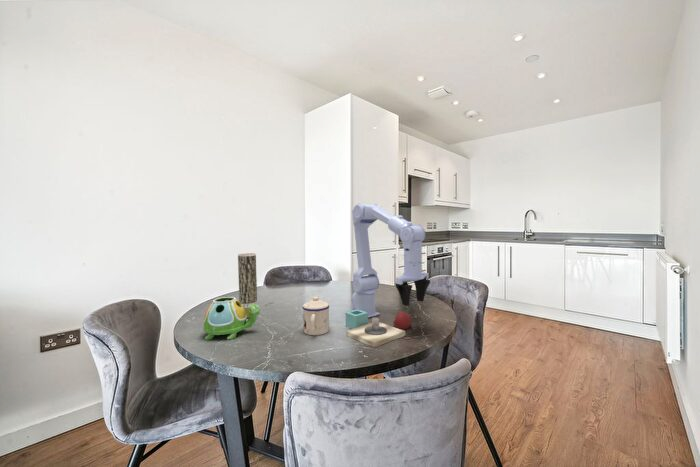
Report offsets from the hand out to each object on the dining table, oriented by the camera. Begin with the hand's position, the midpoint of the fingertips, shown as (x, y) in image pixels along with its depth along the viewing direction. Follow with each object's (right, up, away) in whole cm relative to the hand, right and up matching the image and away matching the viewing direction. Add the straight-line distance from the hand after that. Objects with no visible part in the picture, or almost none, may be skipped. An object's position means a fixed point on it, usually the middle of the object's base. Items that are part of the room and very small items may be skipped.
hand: (413, 302), depth 99 cm
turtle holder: (-62, -11, +2) cm, 63 cm away
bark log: (-62, -11, +22) cm, 66 cm away
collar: (-18, -10, +7) cm, 22 cm away
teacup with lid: (-32, -11, +2) cm, 34 cm away
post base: (-13, -10, -2) cm, 16 cm away
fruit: (-2, -10, +5) cm, 11 cm away
